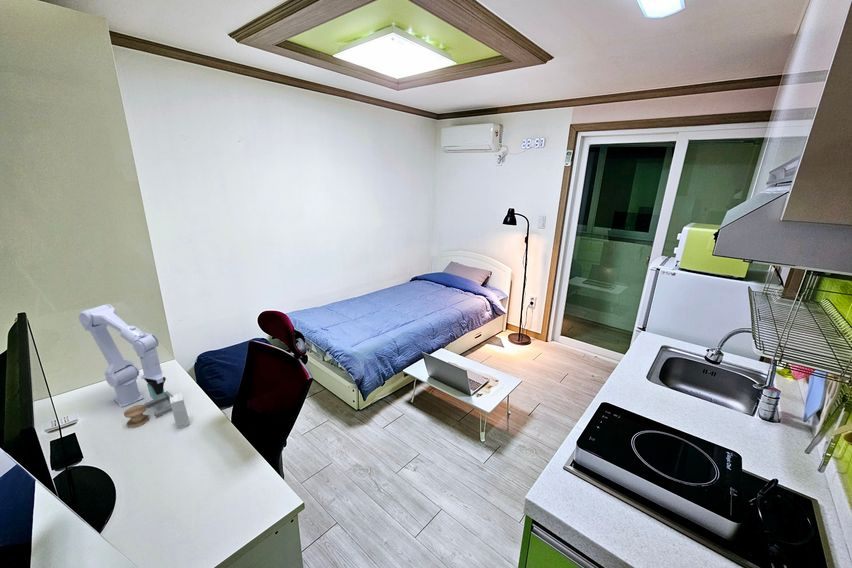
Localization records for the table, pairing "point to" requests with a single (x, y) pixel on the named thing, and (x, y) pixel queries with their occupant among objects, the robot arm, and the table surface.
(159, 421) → the table surface
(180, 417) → the skincare box
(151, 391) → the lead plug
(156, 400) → the gray u-shaped block
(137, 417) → the spool
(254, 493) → the table surface
